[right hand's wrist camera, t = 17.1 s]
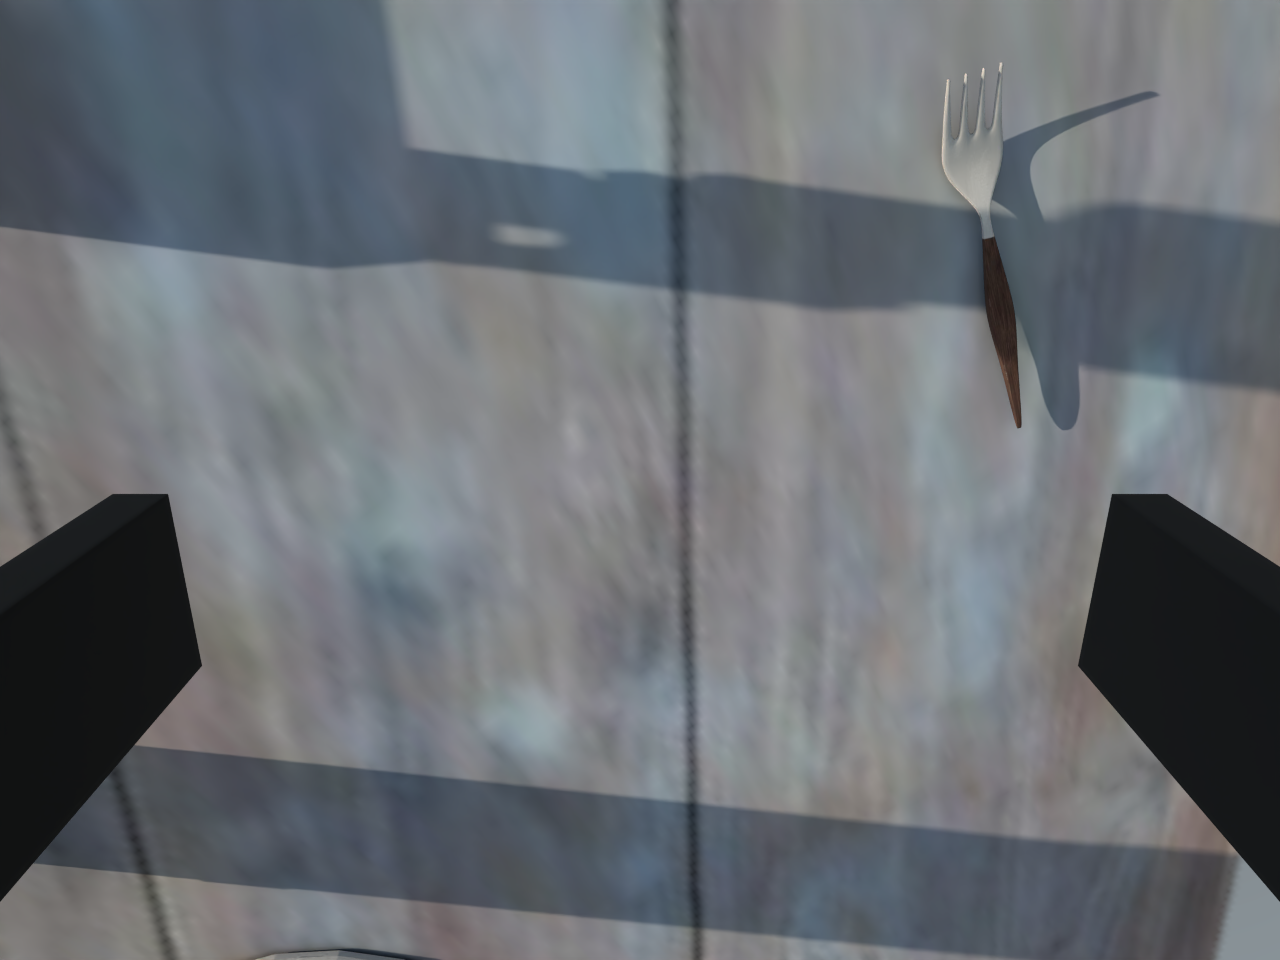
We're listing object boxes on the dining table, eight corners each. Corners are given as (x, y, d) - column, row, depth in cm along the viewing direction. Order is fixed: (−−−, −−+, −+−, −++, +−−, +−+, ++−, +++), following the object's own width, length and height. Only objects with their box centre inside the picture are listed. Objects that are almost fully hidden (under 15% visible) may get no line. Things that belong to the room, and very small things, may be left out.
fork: (987, 432, 42) (1003, 445, 41) (927, 84, 37) (942, 80, 35) (1041, 417, 42) (1060, 429, 40) (989, 64, 37) (1008, 60, 35)
